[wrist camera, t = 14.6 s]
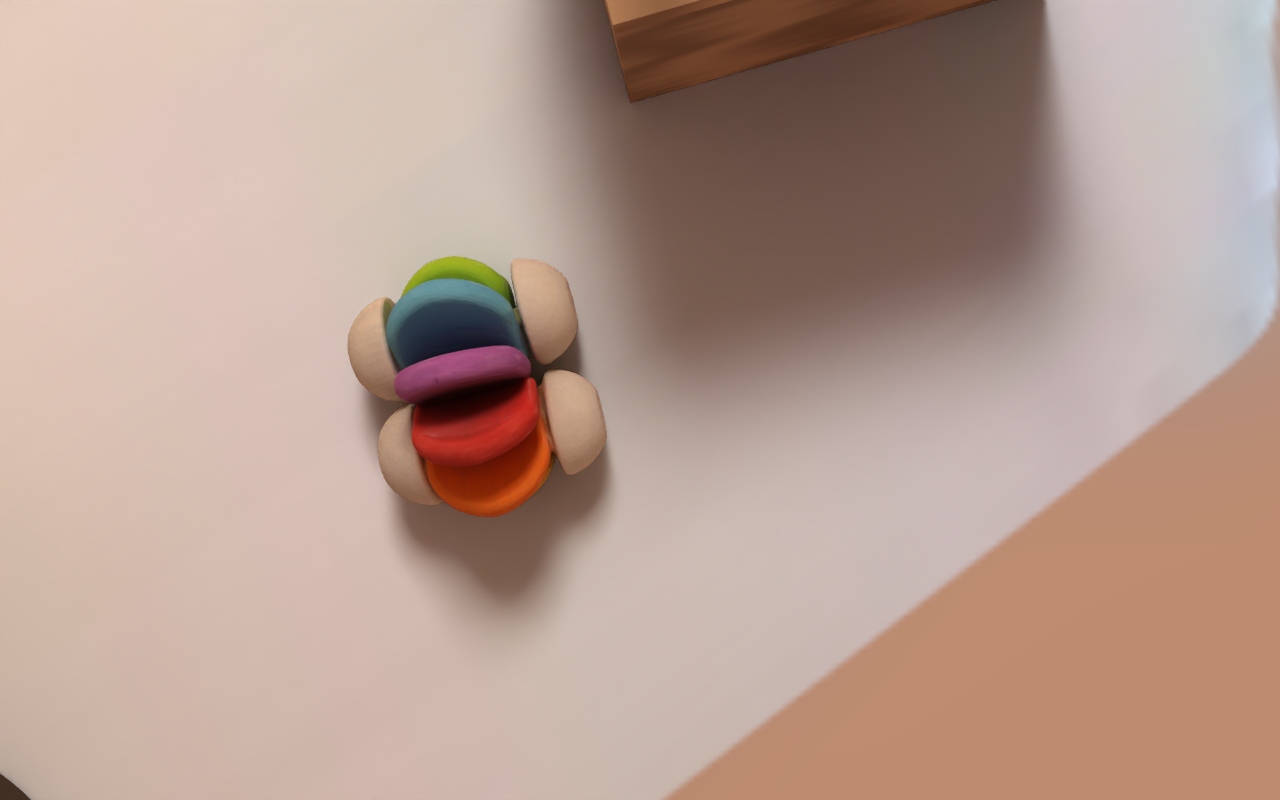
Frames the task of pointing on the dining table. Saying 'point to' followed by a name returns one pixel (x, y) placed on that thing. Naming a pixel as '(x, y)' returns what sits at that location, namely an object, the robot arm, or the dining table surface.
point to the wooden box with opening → (743, 34)
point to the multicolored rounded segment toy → (476, 384)
